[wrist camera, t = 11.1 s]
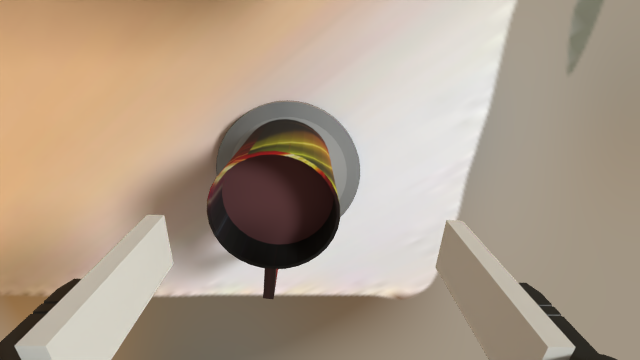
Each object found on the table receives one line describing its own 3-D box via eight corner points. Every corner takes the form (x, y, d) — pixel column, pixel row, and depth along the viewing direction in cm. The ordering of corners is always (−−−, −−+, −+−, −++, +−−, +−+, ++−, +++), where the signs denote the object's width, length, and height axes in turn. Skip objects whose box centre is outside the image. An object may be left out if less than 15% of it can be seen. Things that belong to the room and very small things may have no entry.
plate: (211, 99, 31) (207, 100, 30) (363, 101, 32) (365, 103, 31) (226, 231, 37) (223, 237, 36) (354, 231, 38) (355, 237, 37)
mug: (276, 241, 37) (261, 320, 25) (226, 136, 32) (181, 177, 20) (351, 218, 36) (370, 288, 25) (313, 106, 31) (314, 130, 20)
